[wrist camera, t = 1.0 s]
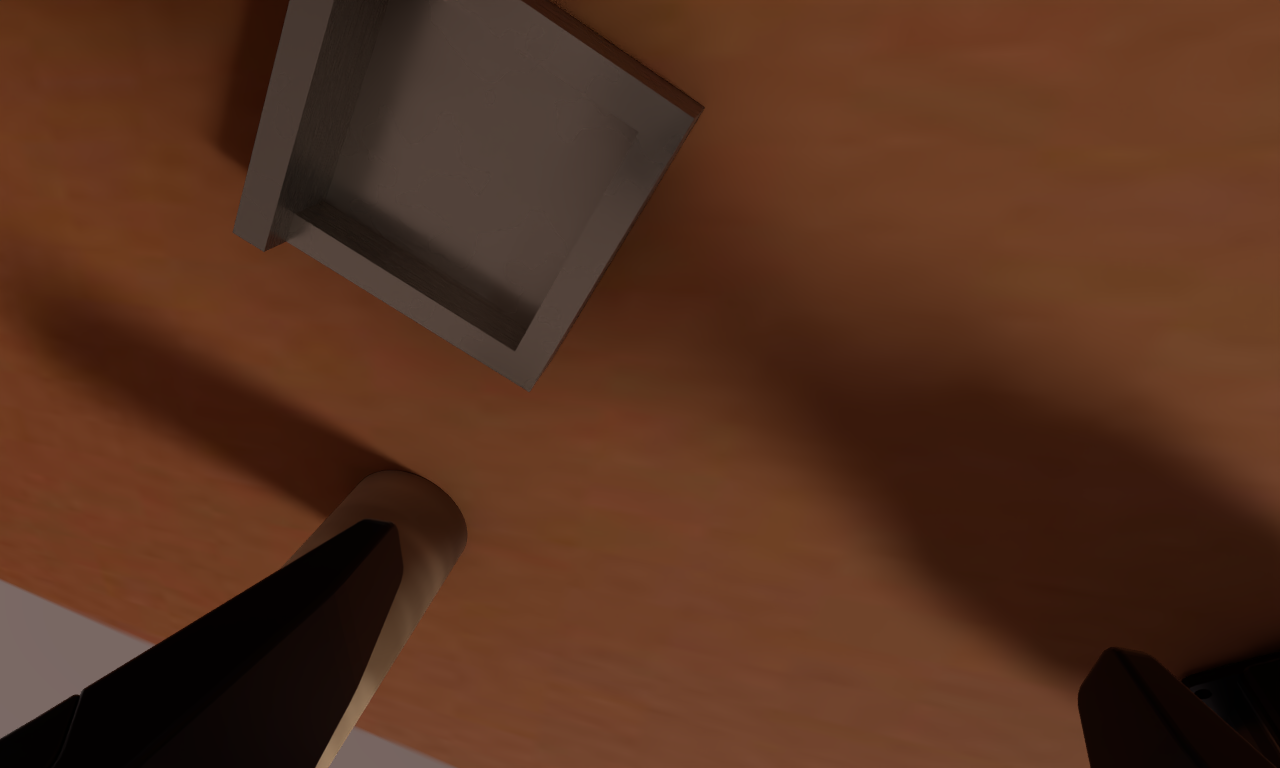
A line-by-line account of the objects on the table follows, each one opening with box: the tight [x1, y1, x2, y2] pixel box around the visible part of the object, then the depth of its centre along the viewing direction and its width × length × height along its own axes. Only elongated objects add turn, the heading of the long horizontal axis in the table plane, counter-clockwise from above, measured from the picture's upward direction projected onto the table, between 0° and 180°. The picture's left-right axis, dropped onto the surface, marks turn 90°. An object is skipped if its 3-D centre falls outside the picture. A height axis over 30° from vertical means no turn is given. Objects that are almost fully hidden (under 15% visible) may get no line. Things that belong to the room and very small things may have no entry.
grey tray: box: [233, 0, 705, 392], centre depth 19 cm, size 10×10×3 cm
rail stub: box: [282, 470, 467, 768], centre depth 22 cm, size 5×5×14 cm
